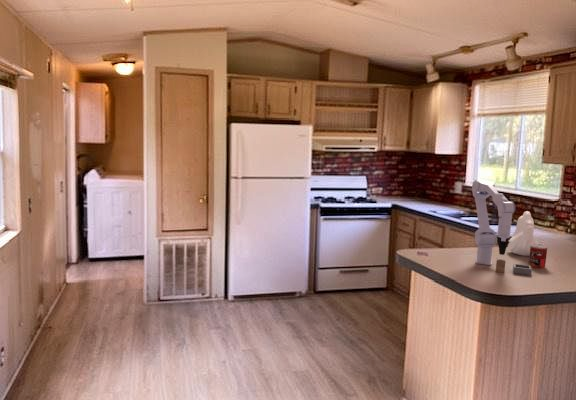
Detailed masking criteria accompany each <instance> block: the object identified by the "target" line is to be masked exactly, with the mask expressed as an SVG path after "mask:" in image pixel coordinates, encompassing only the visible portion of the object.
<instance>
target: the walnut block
mask: <svg viewBox="0 0 576 400" xmlns="http://www.w3.org/2000/svg"><path fill="white" fill-rule="evenodd" d="M506 261H507V260H506V259H504V258H496V264H495V273H504V274H505V271H506V270H505V269H506Z"/></svg>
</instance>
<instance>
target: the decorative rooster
mask: <svg viewBox="0 0 576 400" xmlns="http://www.w3.org/2000/svg"><path fill="white" fill-rule="evenodd" d="M534 221H535V220H534V219H533V217H532V214H531V212H530V211H528V210H526V211H524V212H523V214H522V215H521V216H519V217H518V219H517V222H516V227H515V230H514V232H513V233H512V237H510V238H509V240H508V241H509V244H508V245H507V247H508V250H509V251H511V253H513V254H515V255H518V256H521V257H522V256H523V257H524V256H527V257H528V256H529V255H530V246H531V245H534V244H535V245H539V243H538V241H537V239H536V238H535V237H534V231H535V230H534V229H535V222H534Z"/></svg>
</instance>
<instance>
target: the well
mask: <svg viewBox="0 0 576 400" xmlns="http://www.w3.org/2000/svg"><path fill="white" fill-rule="evenodd" d="M532 271H533V270H532V267H531V266H529V264H521V263H520V264H519V263H512V274H514V275H524V276H529V277H531V276H532Z"/></svg>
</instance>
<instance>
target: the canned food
mask: <svg viewBox="0 0 576 400" xmlns="http://www.w3.org/2000/svg"><path fill="white" fill-rule="evenodd" d="M547 253H548V247H547V245H541V244H538V245H535V244H534V245H531V246H530V255H529V258H528V265H529V266H531V268H535V269H545V267H546V262H547V256H548V255H547Z"/></svg>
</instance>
